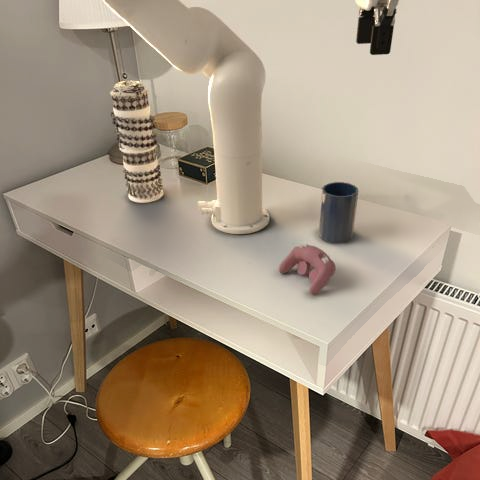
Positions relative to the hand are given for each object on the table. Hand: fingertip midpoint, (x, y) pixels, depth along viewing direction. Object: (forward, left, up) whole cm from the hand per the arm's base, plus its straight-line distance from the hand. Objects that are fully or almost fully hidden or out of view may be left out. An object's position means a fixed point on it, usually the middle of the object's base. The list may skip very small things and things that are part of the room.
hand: (372, 48), depth 82 cm
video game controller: (-10, -21, -33) cm, 41 cm away
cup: (-4, -5, -33) cm, 34 cm away
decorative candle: (-48, +14, -33) cm, 60 cm away
